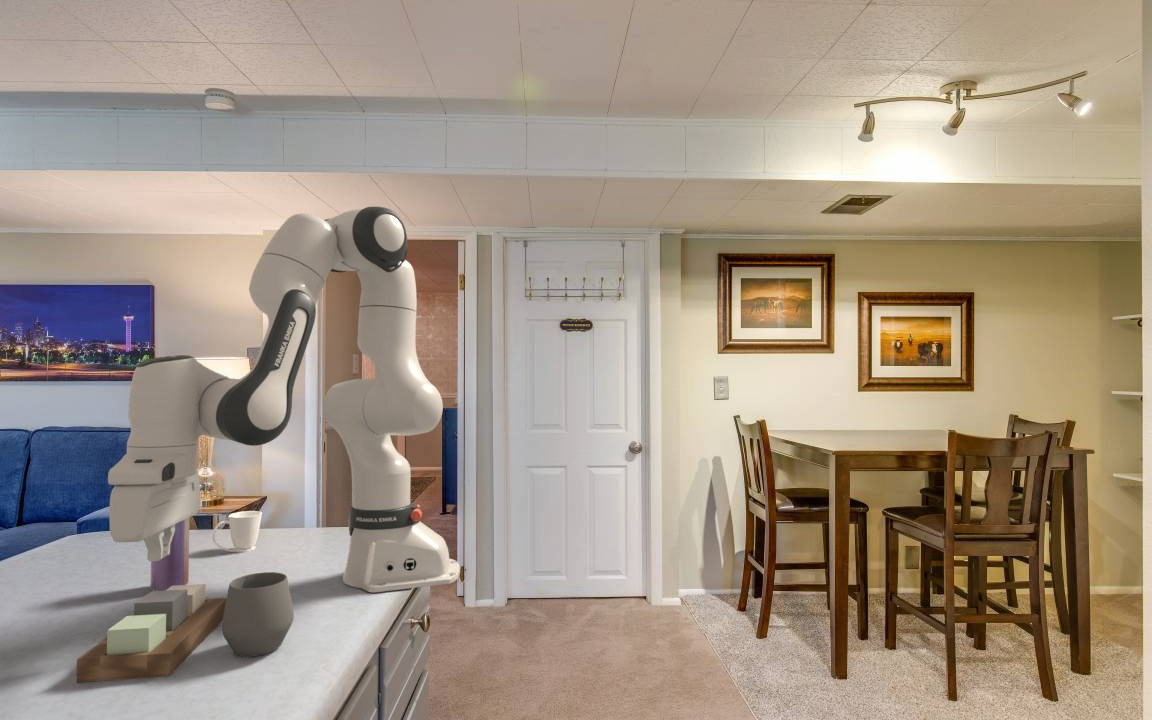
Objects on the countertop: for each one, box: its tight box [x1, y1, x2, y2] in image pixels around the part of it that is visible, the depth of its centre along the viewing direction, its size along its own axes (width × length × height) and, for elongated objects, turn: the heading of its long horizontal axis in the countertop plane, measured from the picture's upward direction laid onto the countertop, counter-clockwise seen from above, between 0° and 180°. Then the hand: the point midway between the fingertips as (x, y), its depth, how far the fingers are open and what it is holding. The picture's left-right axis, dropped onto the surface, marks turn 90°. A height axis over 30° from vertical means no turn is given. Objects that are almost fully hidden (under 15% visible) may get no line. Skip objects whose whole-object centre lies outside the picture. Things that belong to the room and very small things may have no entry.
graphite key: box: [133, 590, 187, 632], centre depth 94 cm, size 5×5×4 cm
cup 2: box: [220, 571, 295, 658], centre depth 93 cm, size 10×9×10 cm
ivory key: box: [166, 583, 207, 613], centre depth 101 cm, size 5×5×4 cm
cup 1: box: [212, 510, 263, 553], centre depth 143 cm, size 7×10×8 cm
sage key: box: [106, 614, 166, 655], centre depth 87 cm, size 5×5×4 cm
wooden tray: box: [76, 597, 227, 683], centre depth 94 cm, size 11×21×3 cm, turn 10°
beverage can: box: [150, 517, 190, 591], centre depth 119 cm, size 6×6×15 cm
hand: (158, 558), depth 94 cm, fingers closed
